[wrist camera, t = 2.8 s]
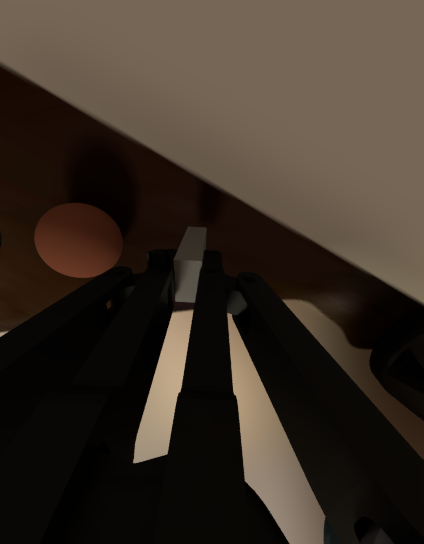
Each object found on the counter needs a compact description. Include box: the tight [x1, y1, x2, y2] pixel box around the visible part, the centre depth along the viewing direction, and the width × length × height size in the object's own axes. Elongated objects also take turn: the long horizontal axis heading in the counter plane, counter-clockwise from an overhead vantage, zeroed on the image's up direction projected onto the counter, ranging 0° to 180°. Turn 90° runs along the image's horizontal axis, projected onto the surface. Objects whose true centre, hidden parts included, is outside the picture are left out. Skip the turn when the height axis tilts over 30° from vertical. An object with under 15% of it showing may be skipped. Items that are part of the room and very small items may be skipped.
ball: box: [34, 203, 123, 278], centre depth 16 cm, size 6×6×6 cm
